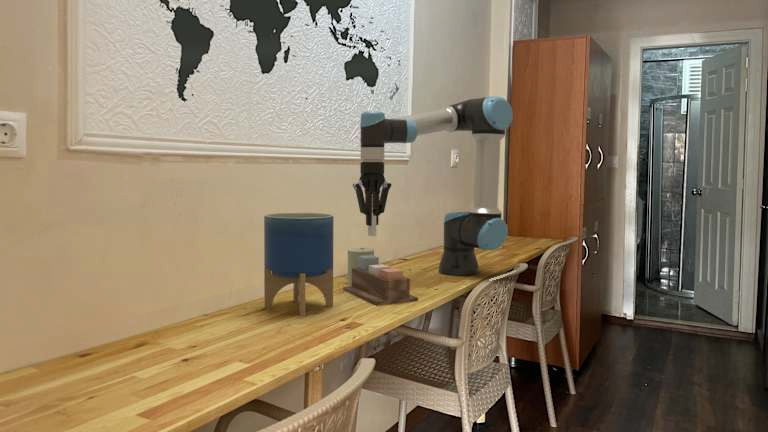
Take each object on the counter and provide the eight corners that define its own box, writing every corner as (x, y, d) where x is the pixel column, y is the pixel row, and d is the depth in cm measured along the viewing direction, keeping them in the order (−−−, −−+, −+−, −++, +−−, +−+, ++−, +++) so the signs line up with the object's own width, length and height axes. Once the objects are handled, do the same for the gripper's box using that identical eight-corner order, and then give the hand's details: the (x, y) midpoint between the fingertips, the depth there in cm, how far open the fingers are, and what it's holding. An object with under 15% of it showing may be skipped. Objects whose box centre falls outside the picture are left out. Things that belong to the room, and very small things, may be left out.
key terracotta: (394, 289, 188) (395, 268, 187) (402, 292, 183) (402, 270, 183) (380, 290, 185) (380, 269, 185) (387, 293, 181) (388, 272, 180)
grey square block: (371, 274, 202) (371, 255, 201) (378, 277, 197) (378, 257, 197) (357, 275, 199) (357, 256, 199) (364, 278, 195) (364, 258, 194)
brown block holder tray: (381, 286, 205) (381, 265, 205) (418, 301, 184) (418, 277, 183) (343, 289, 199) (343, 268, 198) (376, 305, 178) (376, 281, 177)
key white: (382, 284, 195) (382, 264, 194) (390, 287, 190) (390, 266, 190) (368, 285, 192) (368, 265, 192) (375, 288, 188) (375, 267, 187)
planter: (327, 298, 186) (328, 212, 184) (338, 314, 167) (338, 217, 165) (262, 301, 181) (262, 212, 179) (266, 317, 163) (265, 218, 160)
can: (375, 281, 215) (375, 246, 214) (372, 286, 206) (372, 250, 205) (349, 280, 216) (349, 246, 215) (345, 285, 206) (345, 249, 205)
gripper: (384, 161, 200) (384, 233, 202) (348, 161, 193) (348, 235, 195) (396, 161, 193) (395, 235, 195) (359, 161, 187) (359, 238, 189)
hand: (372, 235), depth 195 cm, fingers closed
